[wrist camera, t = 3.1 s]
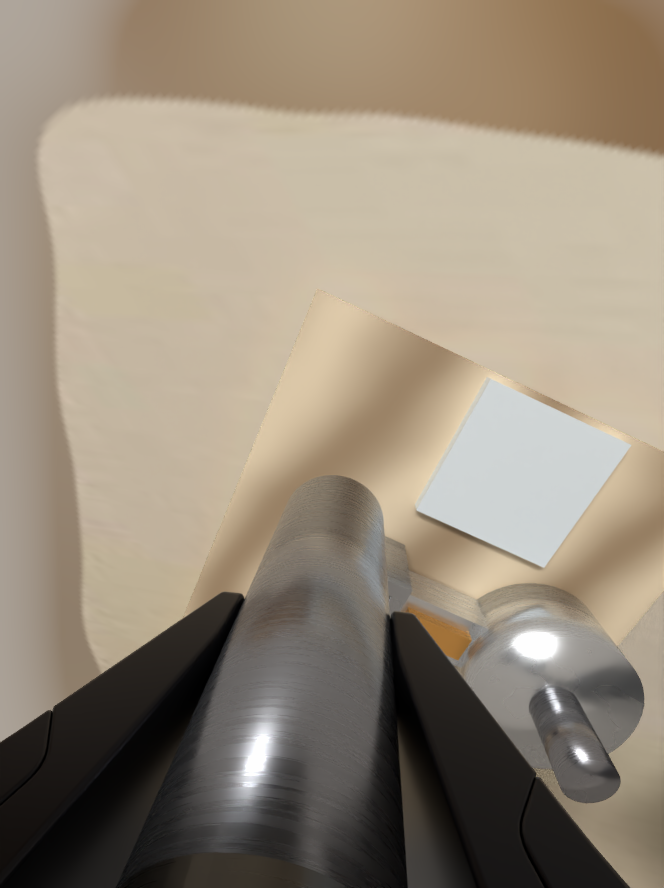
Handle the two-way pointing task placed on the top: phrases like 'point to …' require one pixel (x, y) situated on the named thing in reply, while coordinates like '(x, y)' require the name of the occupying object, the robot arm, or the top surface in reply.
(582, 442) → the coaster
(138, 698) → the robot arm
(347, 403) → the board
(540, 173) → the top surface
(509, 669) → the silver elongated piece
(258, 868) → the metal cylinder
